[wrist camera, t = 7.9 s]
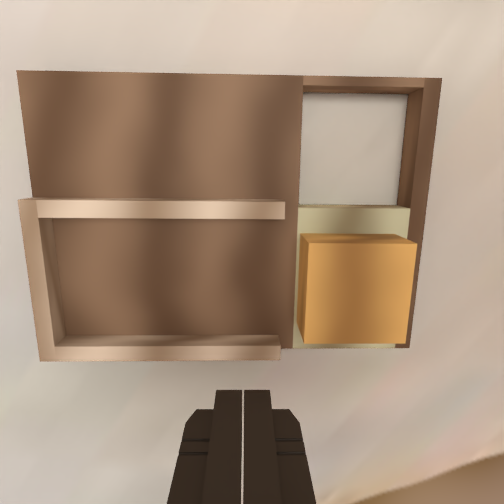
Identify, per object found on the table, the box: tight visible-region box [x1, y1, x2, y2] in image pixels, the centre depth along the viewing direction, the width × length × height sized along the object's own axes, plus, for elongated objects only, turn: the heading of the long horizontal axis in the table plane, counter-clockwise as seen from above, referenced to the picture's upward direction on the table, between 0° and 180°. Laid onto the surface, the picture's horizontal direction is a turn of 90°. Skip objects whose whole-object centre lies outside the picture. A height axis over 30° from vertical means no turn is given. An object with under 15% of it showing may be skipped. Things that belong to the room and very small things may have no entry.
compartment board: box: [16, 70, 442, 361], centre depth 23 cm, size 24×17×4 cm
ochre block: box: [296, 233, 417, 344], centre depth 22 cm, size 6×6×3 cm
